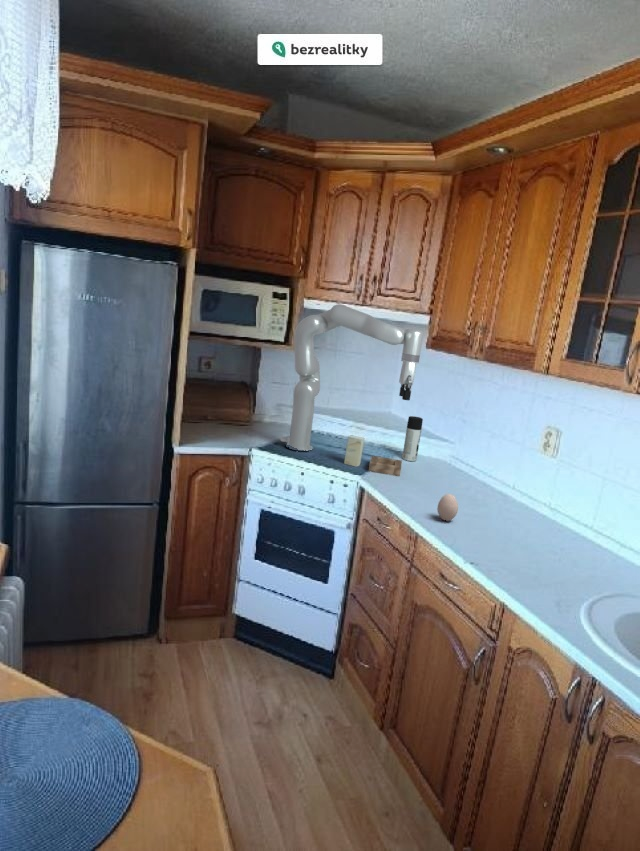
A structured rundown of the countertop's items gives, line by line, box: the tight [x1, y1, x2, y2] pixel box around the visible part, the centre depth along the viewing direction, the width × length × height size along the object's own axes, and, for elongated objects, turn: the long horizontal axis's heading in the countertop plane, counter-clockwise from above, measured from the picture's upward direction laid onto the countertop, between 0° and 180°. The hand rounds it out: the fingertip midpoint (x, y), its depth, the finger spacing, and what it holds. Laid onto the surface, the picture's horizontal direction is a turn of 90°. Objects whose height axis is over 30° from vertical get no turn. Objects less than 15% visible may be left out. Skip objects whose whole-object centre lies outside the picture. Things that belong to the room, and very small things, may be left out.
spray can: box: [402, 415, 424, 462], centre depth 262 cm, size 7×7×20 cm
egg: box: [437, 493, 459, 522], centre depth 190 cm, size 7×7×9 cm
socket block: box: [368, 455, 403, 477], centre depth 242 cm, size 13×13×4 cm
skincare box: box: [343, 434, 365, 467], centre depth 243 cm, size 6×4×12 cm
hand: (404, 398), depth 246 cm, fingers open, 9 cm apart
